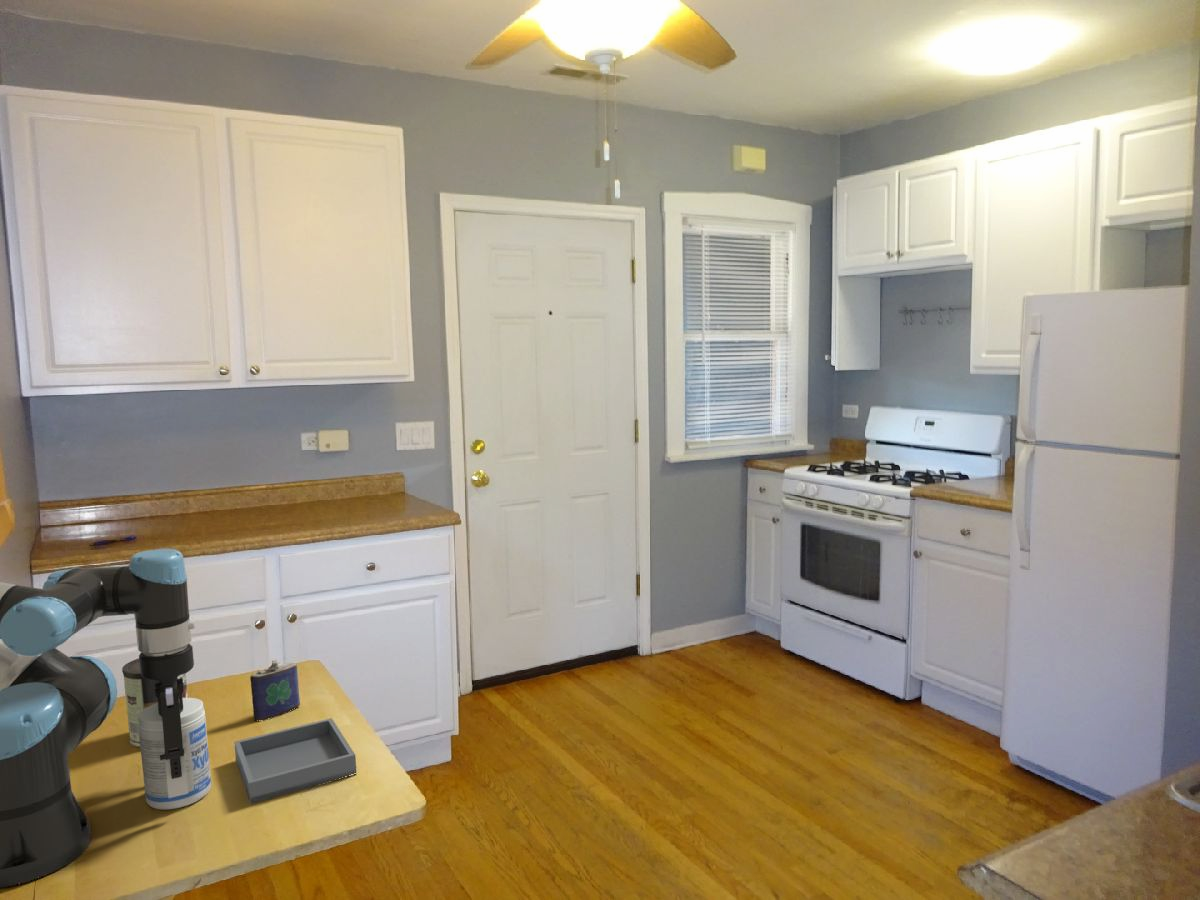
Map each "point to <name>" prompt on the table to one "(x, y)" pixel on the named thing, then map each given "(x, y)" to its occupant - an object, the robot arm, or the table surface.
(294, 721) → the table surface
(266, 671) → the flask
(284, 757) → the tray
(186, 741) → the supplement tub
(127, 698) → the coffee can
